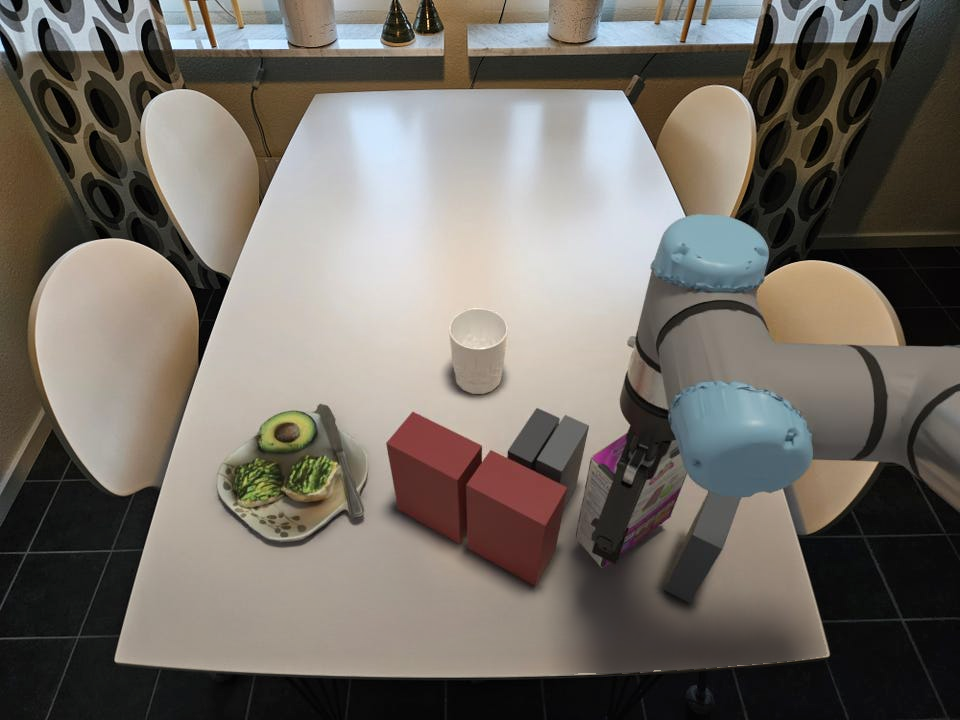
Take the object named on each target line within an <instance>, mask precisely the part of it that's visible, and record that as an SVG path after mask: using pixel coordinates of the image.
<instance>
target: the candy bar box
mask: <svg viewBox="0 0 960 720" xmlns="http://www.w3.org/2000/svg"><path fill="white" fill-rule="evenodd" d="M626 435H627V432H626V433H624V434H623V435H621V436H620V437H618V438H617V439H615V440H614V441H612V442H611V443H609V444H608V445H606V446H605V447H603V448H601V449H600V450H599V451H597V452H595V453H594V454H593V455H591V456H590V460H589V466H588V471H587V476H586V481H585V485H584V492H583V498H582V502H581V506H580V512H579V518H578V522H577V527H576V533H575V540H576V541H577V543H579V545H580V546H581V547H582V548H583V549H584V550H585V551H586V552H587V553H588V554H589V555H590V557H591V558H592V559H593V560H594V561H595V562H596V563H597V564H598V566H599V567H600V569H605V568H606V567H608V566H609V565H610V564H612V563H611V562H609V561H607V560H606V559H604V558H602V557H600V556H598V555H596V554H594V553H592V550H593V546H594V541H592V540H591V538H592V533H593V531H595V527H593V526H591V522H592V521H593V519H594V518H597V519H599V517H600V515H601V512H602V509H603V506H604V504H605V501H606V498H607V496H608V493H609V490H610V487H611V485H612V482H613V479H614V476H615V472H616V469H617V466H616V465H617V463H618V461H619V460H620V457H621V455H622V452H623V450H624V447H625V445H626V442H627V441H626ZM632 456H633V455H632V454H631V452H630V453H629V458H630V459H631V458H632ZM654 460H655V458H654ZM654 460H653V461H651V462H646V461H644V460H643V462H642V465H645V466H647V467H652V464H653V462H654ZM687 476H688V474H687V472H686V470H685V468H684V465H683V462H682V458H681V455H680V451H679V448H678V445H677V441H676V440H673V441H672V443H671V445H670V447H669V450H668V452H667V453H666V455H665V456H663V457H662V459H661V462H660V464H659V466H658V469H657V471H656V473H655V475H654V477H653V478H652V479H650V480H647V481H646V483H645V485H644V488H643V490H642V493H641V495H640V497H639V500H638V502H637V505H636V507H635V510H634V512H633V514H632V517H631V519H630V522H629V524H628V526H627V528H629V529H628V532H627V535H626V538H625V541H624V544H623V547H622V550H621V553H620V555H619V557H620V556H622V554H624V553H625V552H627V551H628V550H629V549H630V548H632V547H633V546H634V545H636V544H637V543H638V542H640V541H641V540H642V539H644V538H645V537H646V536H648V535H650V533H652V532H653V531H654V530H655V529H657V528H659V526H661V525H662V524H664V523H665V522H666V521H668V520H669V519H670V518H671V516H672V513H673V510H674V509H675V506H676V504H677V501H678V498H679V496H680V493H681V490H682V489H683V486H684V483H685V481H686V479H687Z"/></svg>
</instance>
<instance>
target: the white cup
mask: <svg viewBox="0 0 960 720" xmlns="http://www.w3.org/2000/svg"><path fill="white" fill-rule="evenodd" d="M507 323H508V322H507V321H506V319H505V318H504V317H503V316H502V315H501V314H500V313H499V312H496V311H495V310H492V309H488V308H485V307H473V308H472V307H471V308H468V309H464V310H462V311H460V312H458V313H457V314H456V315H454V316H453V317H452V318H451V320H450V322H449V324H448V333H449V342H450V343H449V344H450V352H451V360H452V367H453V370H454V378H455V382H456V384H457V385H458V387H459V388H460V389H461V390H462V391H465V392H467V393H470V394H472V395H483V394H484V395H485V394H487V393H489V392H493V391H494V390H495V389H496V388H497V387H498V386H499V385H500V384H501V380H502V377H503V369H504V365H505V360H506V359H505V358H506V351H507V340H508V332H509V327H508V324H507Z"/></svg>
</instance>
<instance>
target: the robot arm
mask: <svg viewBox="0 0 960 720" xmlns="http://www.w3.org/2000/svg"><path fill="white" fill-rule="evenodd" d="M769 256H770V249H769V246H768V244H767V242H766V240H765V238H764V237H763V236H762V235H761V233H760V232H759V231H758V230H756V229H755V228H754V227H752V226H750V225H749V224H747V223H745V222H743V221H742V220H739V219H737V218H734V217H730V216H727V215H722V214H703V213H698V214H692V215H691V214H690V215H688V216H684V217H682V218H679V219H677V220H675V221H674V222H673V223H671V224H670V225H669V226H668V227H667V228H666V229H665V230H664V231H663V233H662V236H661V239H660V242H659V244H658V248H657V251H656V253H655V256H654V259H653V260H652V262H651V263H650V268H649V269H650V275H649V280H648V283H647V288H646V292H645V297H644V299H643V305H642V308H641V313H640V317H639V321H638V325H637V330H636V333H635V336H634V335H630V336H629V337H628V339H627V341H626V345H627V346H628V347H629V348H632V352H631V355H630V358H629V362H628V367H627V371H626V372H625V376H624V379H623V384H622V388H621V392H620V395H619V408H620V411H621V414H622V416H623V418H624V419H625V421H626V422H627V423H628V425H629V428H628V430H627V432H626V433H627V435H626V441H627V442H626V445H625V447H624V450H623V452H622V455H621V457H620V460H619V461H618V463H617V465H616V466H617V469H616V472H615V476H614V479H613V482H612V485H611V487H610V490H609V493H608V496H607V498H606V501H605V504H604V506H603V509H602V512H601V515H600V517H599V519H597V518H594V519H593V521H592V522H591V526H593V527H595V531H593V533H592V538H591V540H592V541H594V546H593V550H592V553H594V554H596V555H598V556H600V557H602V558H604V559H606V560H607V561H609V562H611V563H610V564H613V565H615V566H616V564H617V563H618V560H619V558H620V556H621V555H620V553H621V550H622V547H623V544H624V541H625V538H626V535H627V532H628V529H629V528H627V526H628V524H629V522H630V519H631V517H632V514H633V512H634V510H635V507H636V505H637V502H638V500H639V497H640V495H641V493H642V490H643V488H644V485H645V483H646V481H647V480H650V479H652V478H653V477H654V475H655V473H656V471H657V469H658V466H659V464H660V462H661V459H662V457H663V456H665V455H666V453H667V452H668V450H669V447H670V445H671V443H672V441H673V440H676V441H677V445H678V448H679V451H680V455H681V458H682V462H683V465H684V468H685V470H686V472H687V476H688V477H689V478H690V479H691V480H692V481H693V482H694V483H695V484H696V485H697V486H699V487H700V488H701V489H704V490H705V491H708V492H709V491H710V492H712V493H715V494H718V495H723V496H729V497H741V498H751V497H752V496H754V495H755V494H759V493H768V494H772V493H775V492H778V491H781V490H784V489H785V488H787V487H789V486H791V485H792V484H794V483H796V482H797V481H798V480H799V479H800V478H802V477H803V476H804V475H805V474H806V472H807V471H808V470H809V468H810V466H811V465H812V462H813V461H814V460H815V461H845V462H846V461H850V462H852V461H853V462H871V463H873V462H874V463H892V464H897V465H900V466H903V467H904V468H905V469H906V470H907V471H909V472H910V473H911V474H912V475H913V476H914V477H916V478H917V479H918V480H920V481H921V482H922V483H924V485H926V486H927V487H928V488H929V489H931V490H932V491H934V492H935V493H936V494H937V496H939V497H940V498H942V499H943V500H944V501H945V503H947V504H948V505H950V507H952V508H953V509H954V510H955V511H957V512H958V513H959V514H960V344H956V345H943V346H942V345H941V346H935V345H934V346H932V345H931V346H927V345H924V346H923V345H919V346H918V345H883V344H882V345H881V344H880V345H879V344H878V345H875V344H874V345H873V344H872V345H871V344H832V343H831V344H830V343H828V344H827V343H807V342H806V343H804V342H803V343H802V342H776V341H774V339H773V337H772V335H771V334H770V330H769V328H768V324H767V322H766V320H765V318H764V315H763V312H762V310H761V308H760V305H759V303H758V296H757V294H758V290H759V288H760V286H761V285H763V284H764V282H765V279H766V278H765V277H766V269H767V265H768V262H769V259H770V257H769ZM630 452H631V454H632V455H633V456H632V458H631V459H630V458H629V453H630ZM654 458H655V460H654ZM643 460H644V461H646V462H651V461H653V460H654V462H653V464H652V467H647V466H645V465H642V462H643ZM619 555H620V556H619Z"/></svg>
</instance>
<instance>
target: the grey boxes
mask: <svg viewBox="0 0 960 720" xmlns="http://www.w3.org/2000/svg"><path fill="white" fill-rule="evenodd" d="M589 428H590V425H589V424H587V423H584V422H582V421H580V420H578V419H575V418H573V417H572V416H569V415H567V414H564V416H563V417H562V419H561V418H560V417H558V416H556V415H554V414H552V413H550V412H548V411H545V410H543V409H540V408H539V407H536V408H535V409H534V411H533V412H532V414H531V415H530V417H529V418H528V420H527V422H526V423H525V424H524V426H523V427H522V429H521V430H520V432H519V433H518V435H517V436H516V437H515V439H514V440H513V442H512V443H511V445H510V447H509V448H508V449H507V455H506V458H508V459H510V460H512V461H514V462H516V463H519V464H521V465H523V466H525V467H527V468H529V469H531V470H533V471H535V472H537V473H539V474H541V475H543V476H545V477H547V478H549V479H551V480H553V481H555V482H557V483H559V484H561V485H563V486H565V487H567V493H566V498H565V503H564V508H563V511H564V509H566V506H567V504H569V503H568V502H569V501H570V499H571V497H572V496H573V494H574V492H575V490H576V488H577V484H578V480H579V476H580V471H581V467H582V461H583V457H584V452H585V448H586V443H587V439H588V433H589ZM704 497H705V498H704V499H703V501H702V503H701V505H700V507H699V509H698V511H697V513H696V515H695V517H694V520H693V521H692V523H691V526H690V527H689V529H688V531H687V533H686V535H685V537H684V539H683V541H682V544H681V546H680V549H679V551H678V554H677V556H676V558H675V560H674V564H673V566H672V568H671V571H670V573H669V576H668V578H667V580H666V583H665V586H664V588H663V590H664V591H666V592H668V593H669V594H672V595H674V596H676V597H677V598H679V599H681V600H683V601H685V602H687V603H689V604H690V603H691V602H692V600H693V599H694V597H695V596H696V594H697V592H698V591H699V589H700V587H701V585H702V584H703V582H704V581H705V579H706V577H707V575H708V574H709V572H710V571H711V569H712V568H713V566H714V564H715V563H716V561H717V560H718V558H719V556H720V555H721V552H722V551H723V550H724V547H725V544H726V541H727V539H728V536H729V533H730V531H731V528H732V525H733V522H734V519H735V516H736V513H737V510H738V508H739V505H740V503H741V500H742V497H729V496H723V495H718V494H715V493H712V492H710V491H708V492H707V493H706V496H704Z"/></svg>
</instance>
